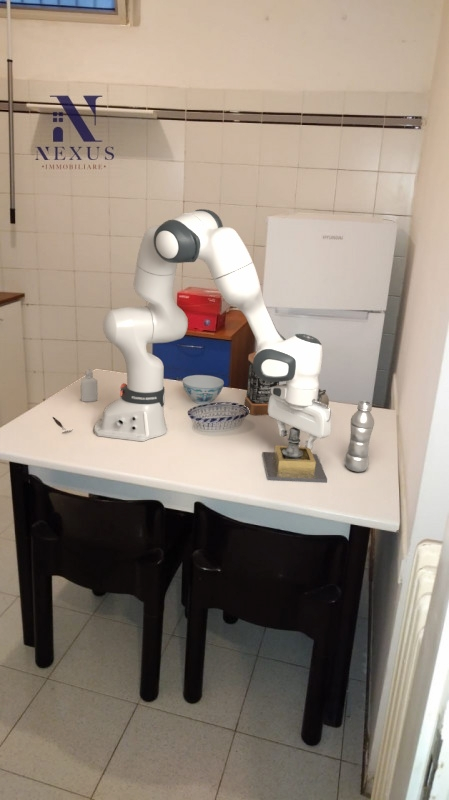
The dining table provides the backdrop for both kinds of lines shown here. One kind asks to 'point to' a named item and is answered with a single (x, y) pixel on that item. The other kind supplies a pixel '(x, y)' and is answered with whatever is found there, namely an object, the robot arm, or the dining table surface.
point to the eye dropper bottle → (89, 387)
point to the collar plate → (293, 466)
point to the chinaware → (202, 388)
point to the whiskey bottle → (257, 391)
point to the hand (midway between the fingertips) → (295, 441)
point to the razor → (61, 425)
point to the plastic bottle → (360, 438)
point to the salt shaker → (293, 445)
